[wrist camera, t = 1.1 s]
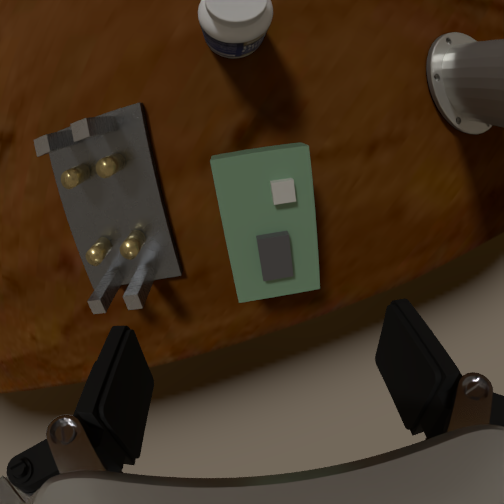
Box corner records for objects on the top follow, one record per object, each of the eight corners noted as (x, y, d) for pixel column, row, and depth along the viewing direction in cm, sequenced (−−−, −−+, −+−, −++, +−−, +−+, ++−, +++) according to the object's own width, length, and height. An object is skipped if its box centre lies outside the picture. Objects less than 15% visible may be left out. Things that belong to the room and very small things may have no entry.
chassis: (142, 102, 25) (116, 100, 18) (182, 270, 33) (172, 309, 26) (50, 135, 25) (11, 145, 18) (96, 284, 33) (74, 320, 26)
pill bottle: (247, 68, 24) (255, 45, 15) (195, 47, 23) (177, 16, 14) (273, 23, 22) (293, -16, 13) (221, 2, 21) (217, -44, 12)
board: (300, 142, 23) (311, 146, 20) (313, 274, 28) (322, 293, 25) (212, 155, 23) (209, 162, 20) (238, 287, 28) (239, 308, 25)
